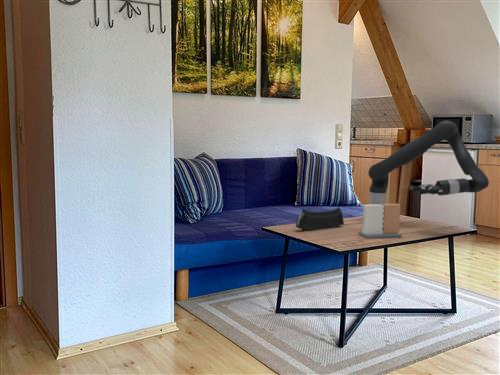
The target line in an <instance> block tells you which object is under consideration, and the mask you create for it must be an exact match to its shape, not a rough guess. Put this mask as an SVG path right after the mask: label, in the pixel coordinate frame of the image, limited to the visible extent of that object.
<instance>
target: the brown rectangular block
mask: <svg viewBox="0 0 500 375" xmlns="http://www.w3.org/2000/svg"><path fill="white" fill-rule="evenodd" d="M383 205H385V206H384V207H385V208H384V226H383V233H399V234H400V217H401V204H399V203H386V204H383Z"/></svg>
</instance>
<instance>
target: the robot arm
mask: <svg viewBox="0 0 500 375" xmlns="http://www.w3.org/2000/svg"><path fill="white" fill-rule="evenodd" d="M444 140H445V141H446V142H447V143H448V144H449V147H450V148H451V149H452V152H453V154H454V156H455V159H456V161H457V164H458V166H459V167H460V169H461V171H462V172H463V174H464V175H465V176H470V178H471V179H467V178H455V179H441V180H436V182H435V184H433V183H432V184H430V183H429V184H420V185H418V186H412V187H411V190H412V192H414V193H415V192H419V194H420V195H432V196H433V195H438V196H440V197H441V196H448V195H456V194H464V193H471V194H472V193H478V192H479V193H480V192H481V191H483V190H485V189H487V188H488V186H489V185H490V181H489V178H488V176H487V175H486V174H485V173H484V171H482V170H481V168H479V167H478V165H477V163H476V162H475V160H474V158H473V157H472V155H471V154H470V152H469V150H468V149H467V146H466V145H465V143H464V141H463V138H462V137H461V134H460V132H459V128H458V126H457V124H456V123H455V122H453V121H451V120H443V121H441V122H439V123H437V124H436V125H434V127H432V128H431V129H430V130H428V131H427V132H426V133H424V134H423V135H421V136H419V137H417V138H415V139H413V140H411V141H410V142H408V143H407V144H405V145H404V146H402V147H400V148H399V149H397V150H396V151H394V152H393V153H392V154H391V155H390V156H388V157H386V158H385V159H383V160H381V161H378V162H377V163H375V164H372V165H371V166H370V168H369V169H368V176H369V178H370V179H371V185H370V186H369V193H368V195H369V196H368V197H369V198H368V199H369V200H368V205H374V204H387V190H388V188H389V178H390V177H389V176H390V173H391V172H392V171H394V170H396V169H398V168H400V167H403V166H406V165H408V164H409V163H412V162H413V161H415V160H417V159H418V158H420V157H421V156H423V155H424V154H425V153H426V152H428V151H429V149H431V148H432V147H433V146H434V145H436V144H438V143H440V142H442V141H444Z"/></svg>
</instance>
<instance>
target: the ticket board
mask: <svg viewBox="0 0 500 375" xmlns="http://www.w3.org/2000/svg"><path fill="white" fill-rule="evenodd" d="M384 206H385V205H383V204H374V205H369V204H363V210H362V211H363V212H362V228H361V229H362V230H358V233H357V234H358V235H359V236H361V237H362V238H365V239H367V240H369V239H372V240H373V239H401V238H402V234H401V233H400V232H399V233H383V226H384V208H385V207H384Z"/></svg>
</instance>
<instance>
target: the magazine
mask: <svg viewBox="0 0 500 375" xmlns="http://www.w3.org/2000/svg"><path fill="white" fill-rule="evenodd" d="M344 225H345V222H344V217H343V212H342V209H341V208H340V207H337V208H334V209H331V210H324V211H309V210H306V209H302V211H301V212H300V213H299V216H298V217H297V219H296V223H295V227H296V228H297V229H301V232H304V231H320V230H328V229H332V228H336V227H339V226H344Z"/></svg>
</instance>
